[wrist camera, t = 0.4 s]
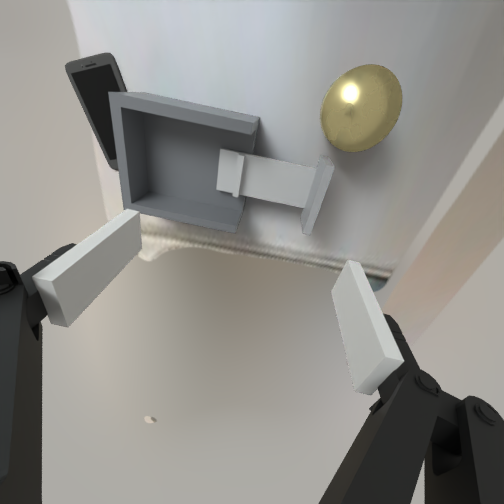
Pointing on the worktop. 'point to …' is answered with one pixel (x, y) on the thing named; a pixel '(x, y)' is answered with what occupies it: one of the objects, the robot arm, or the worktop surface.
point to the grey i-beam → (276, 181)
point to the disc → (361, 108)
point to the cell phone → (98, 96)
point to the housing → (178, 157)
